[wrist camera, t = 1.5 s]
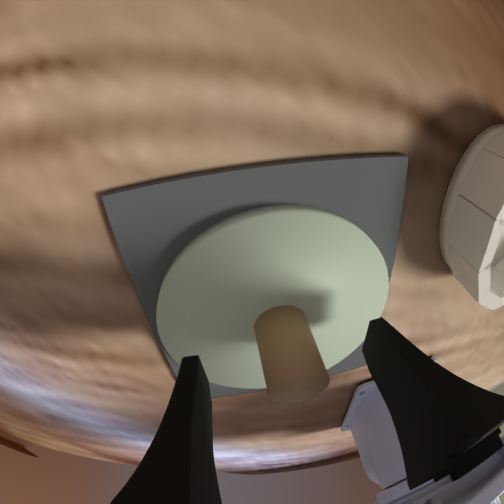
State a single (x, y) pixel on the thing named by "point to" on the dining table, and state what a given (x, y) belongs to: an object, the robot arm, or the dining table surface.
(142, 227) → the mat
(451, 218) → the bowl
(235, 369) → the lid
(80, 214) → the dining table surface
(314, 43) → the dining table surface
